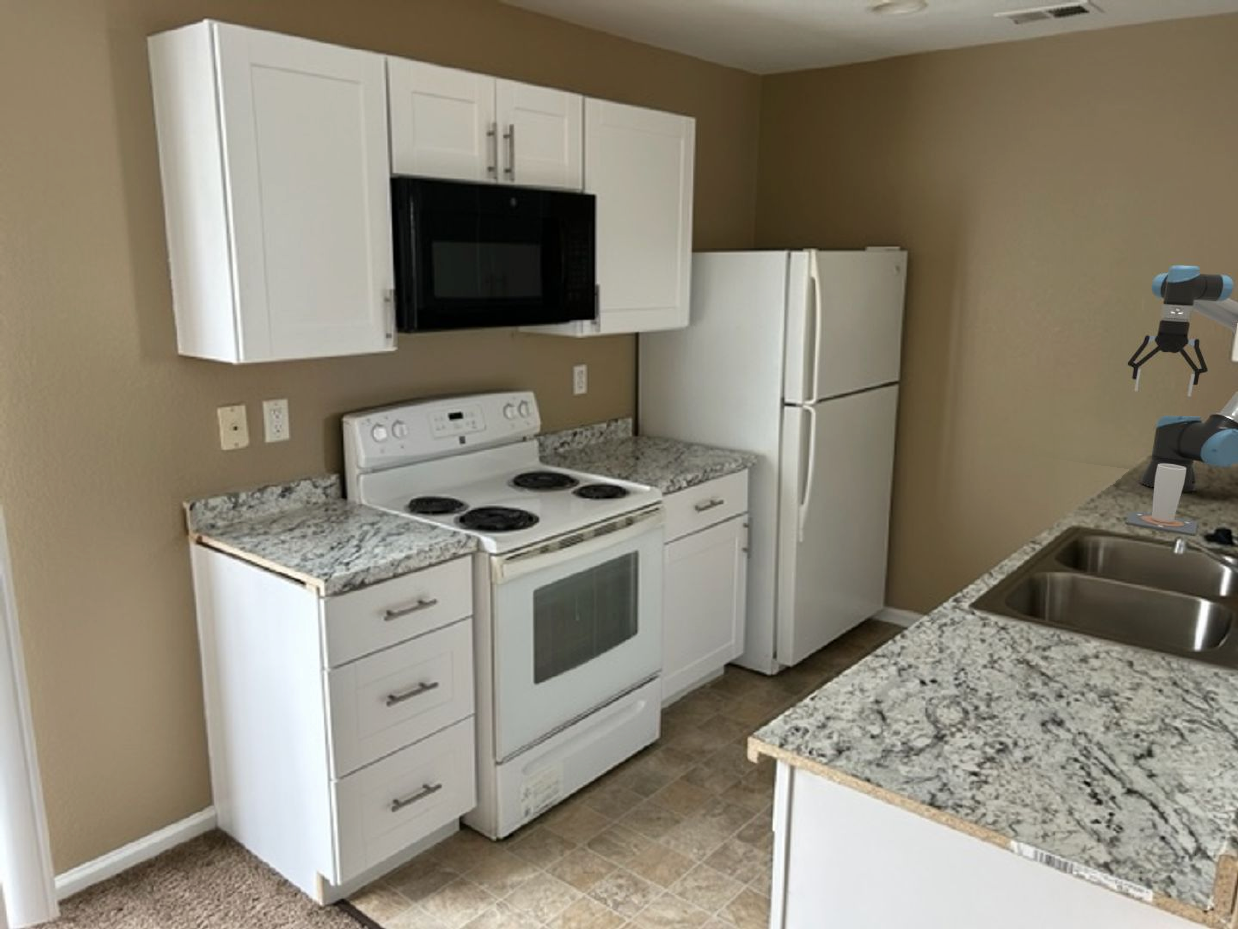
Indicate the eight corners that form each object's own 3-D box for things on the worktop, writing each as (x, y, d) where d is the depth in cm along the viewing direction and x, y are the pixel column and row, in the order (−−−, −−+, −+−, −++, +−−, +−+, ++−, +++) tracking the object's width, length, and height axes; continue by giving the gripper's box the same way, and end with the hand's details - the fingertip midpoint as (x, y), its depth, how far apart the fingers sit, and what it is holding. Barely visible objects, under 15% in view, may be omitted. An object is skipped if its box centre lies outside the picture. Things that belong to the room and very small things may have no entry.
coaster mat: (1131, 512, 260) (1131, 509, 260) (1197, 523, 251) (1198, 520, 251) (1125, 524, 247) (1125, 521, 246) (1195, 536, 238) (1195, 533, 238)
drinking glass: (1169, 518, 252) (1179, 464, 249) (1181, 525, 245) (1191, 469, 242) (1143, 516, 252) (1152, 462, 249) (1154, 523, 246) (1164, 468, 243)
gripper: (1126, 317, 270) (1114, 389, 274) (1227, 323, 258) (1212, 399, 263) (1126, 316, 276) (1114, 387, 281) (1225, 323, 264) (1211, 396, 269)
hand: (1162, 393), depth 272 cm, fingers open, 13 cm apart
